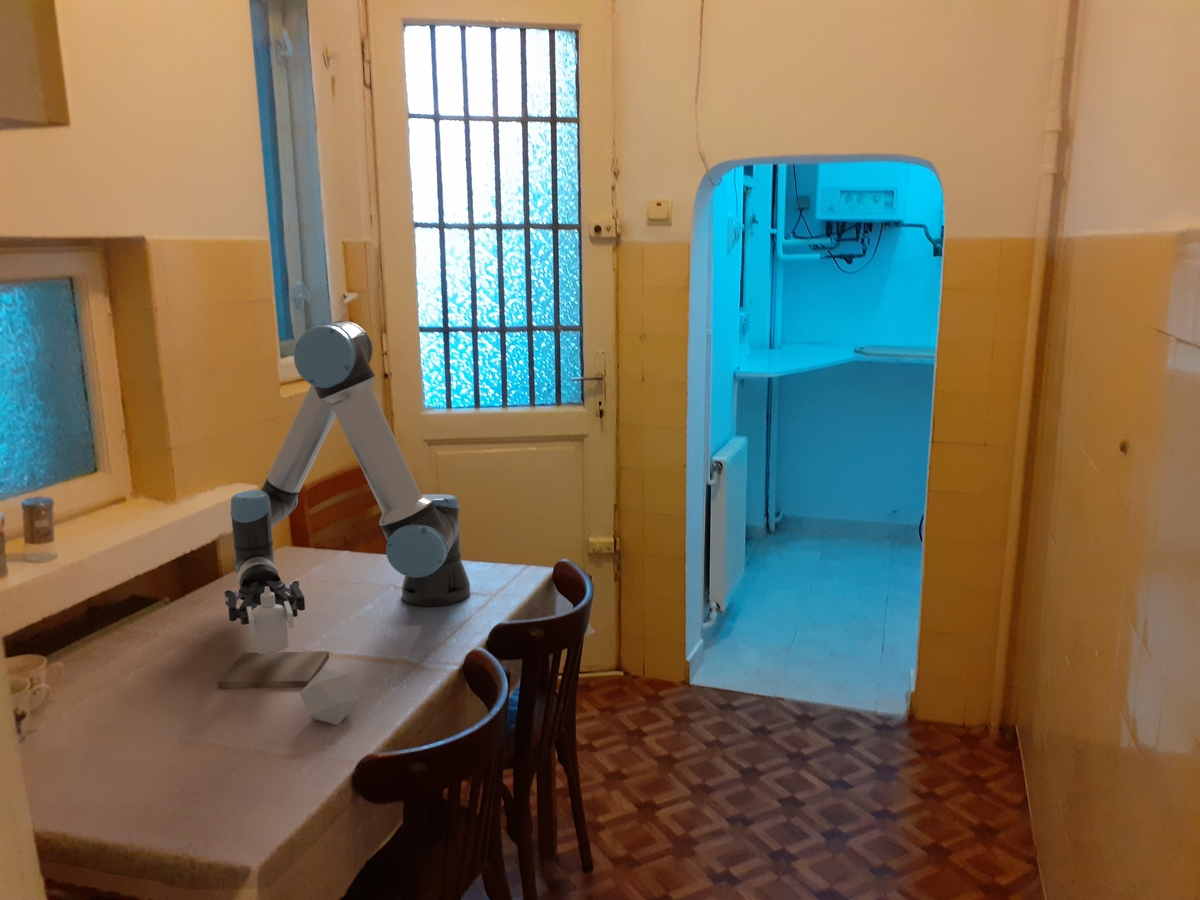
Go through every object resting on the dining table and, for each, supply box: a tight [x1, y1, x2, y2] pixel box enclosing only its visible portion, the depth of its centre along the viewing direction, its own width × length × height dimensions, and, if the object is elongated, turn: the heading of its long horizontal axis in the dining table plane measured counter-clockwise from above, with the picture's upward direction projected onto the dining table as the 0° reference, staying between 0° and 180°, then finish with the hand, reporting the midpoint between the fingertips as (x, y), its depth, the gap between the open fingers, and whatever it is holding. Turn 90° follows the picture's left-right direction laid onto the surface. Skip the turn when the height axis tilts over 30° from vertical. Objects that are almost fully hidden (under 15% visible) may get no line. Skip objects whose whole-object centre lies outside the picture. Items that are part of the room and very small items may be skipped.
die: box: [299, 668, 360, 726], centre depth 142 cm, size 8×9×10 cm
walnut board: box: [217, 650, 330, 689], centre depth 159 cm, size 16×12×1 cm
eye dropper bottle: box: [252, 586, 289, 654], centre depth 157 cm, size 4×6×12 cm
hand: (271, 623), depth 152 cm, fingers closed on eye dropper bottle, 6 cm apart
